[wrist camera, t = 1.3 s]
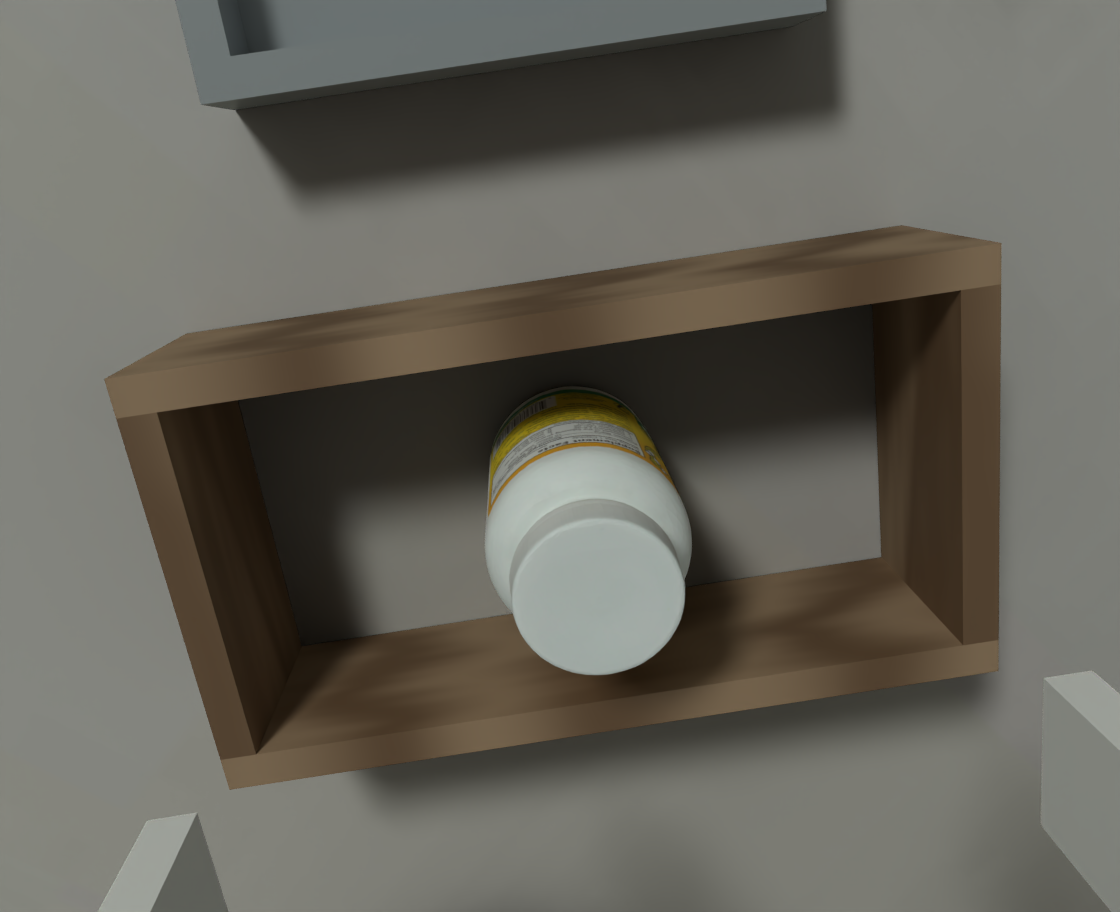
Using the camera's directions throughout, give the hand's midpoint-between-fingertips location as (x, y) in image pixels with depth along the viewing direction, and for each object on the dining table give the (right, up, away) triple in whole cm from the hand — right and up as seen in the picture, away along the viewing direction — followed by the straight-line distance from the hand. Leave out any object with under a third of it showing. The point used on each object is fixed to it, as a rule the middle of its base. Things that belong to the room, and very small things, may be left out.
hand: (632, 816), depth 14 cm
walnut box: (-1, +5, +16) cm, 17 cm away
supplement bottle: (-1, +5, +16) cm, 17 cm away
